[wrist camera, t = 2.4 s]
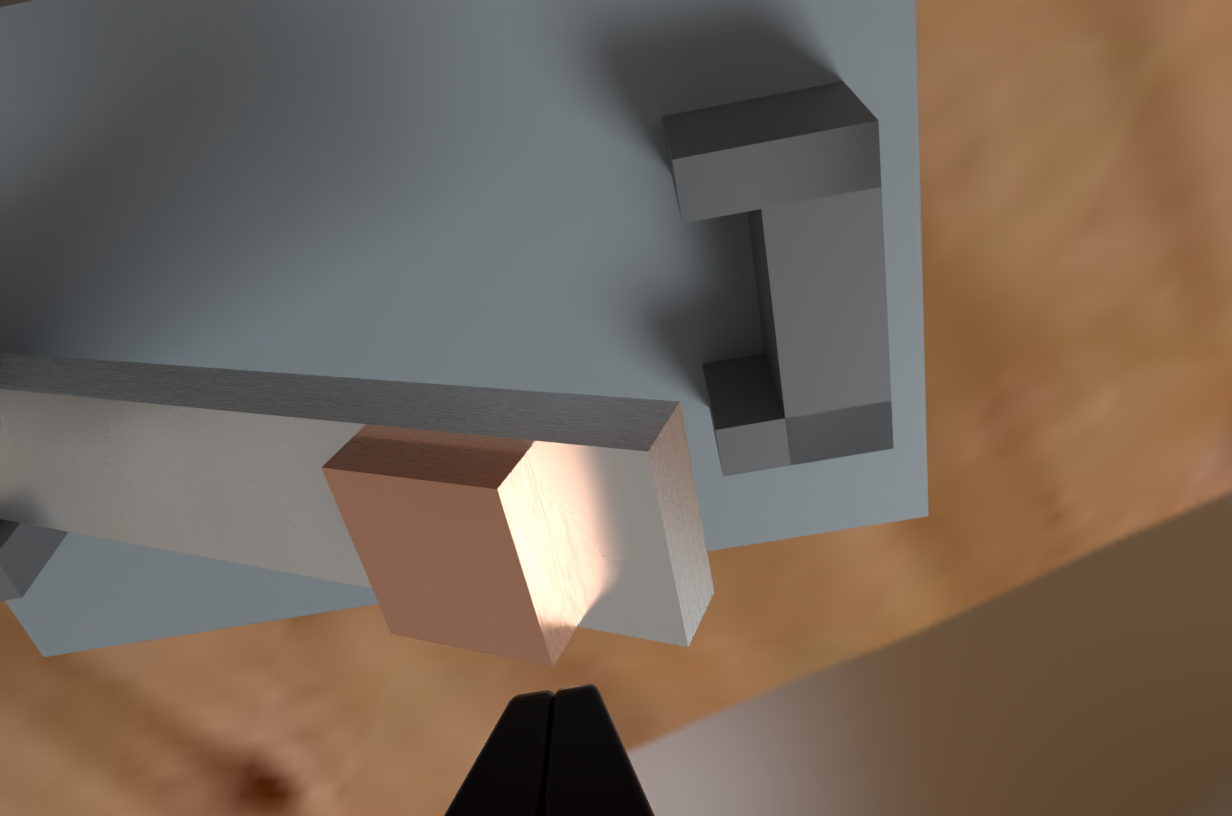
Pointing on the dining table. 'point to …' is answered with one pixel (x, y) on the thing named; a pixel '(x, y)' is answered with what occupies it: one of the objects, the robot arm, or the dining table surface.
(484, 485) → the light grey long bar
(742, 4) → the base plate
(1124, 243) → the dining table surface
